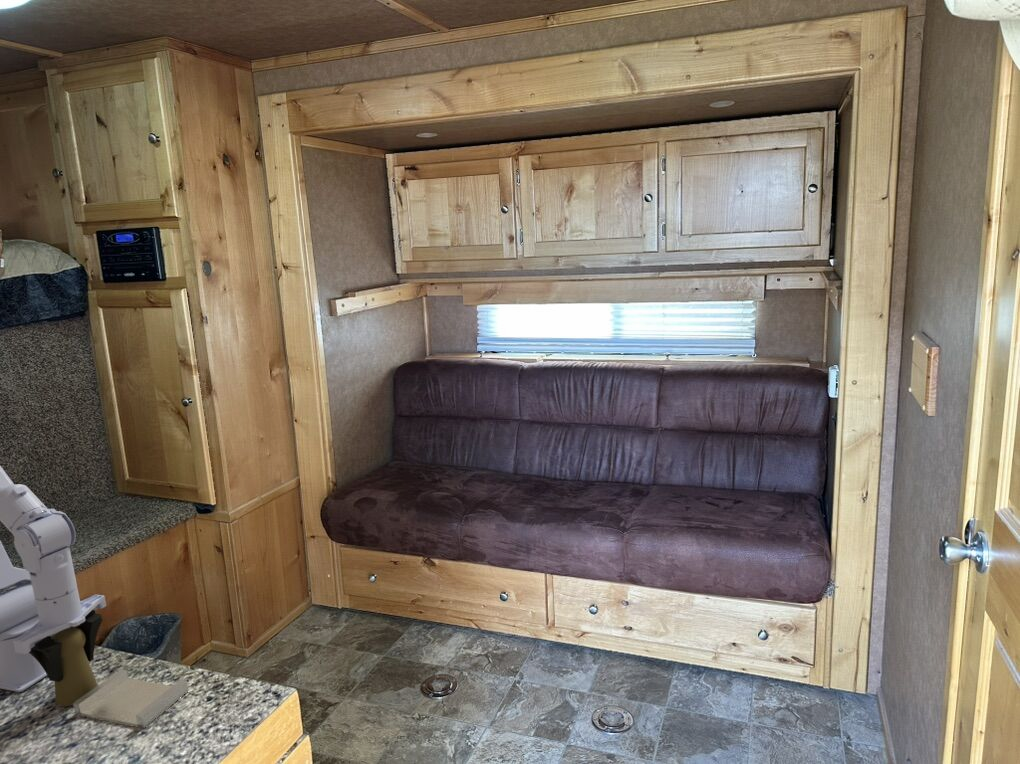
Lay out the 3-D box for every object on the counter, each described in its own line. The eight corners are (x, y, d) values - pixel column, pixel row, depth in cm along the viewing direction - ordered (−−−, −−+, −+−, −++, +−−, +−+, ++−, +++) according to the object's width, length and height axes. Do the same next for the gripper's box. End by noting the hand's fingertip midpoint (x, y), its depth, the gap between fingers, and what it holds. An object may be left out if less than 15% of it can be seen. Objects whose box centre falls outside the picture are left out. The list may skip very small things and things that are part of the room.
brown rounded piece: (107, 683, 119) (94, 622, 116) (80, 706, 113) (67, 642, 111) (74, 683, 119) (61, 622, 117) (46, 706, 114) (32, 642, 112)
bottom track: (75, 714, 111) (72, 703, 111) (122, 680, 119) (120, 669, 119) (144, 728, 107) (142, 716, 106) (188, 691, 115) (186, 680, 115)
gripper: (31, 617, 105) (49, 701, 107) (114, 572, 118) (128, 647, 121) (-4, 612, 107) (14, 694, 110) (81, 568, 120) (96, 642, 123)
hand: (72, 669), depth 115 cm, fingers closed on brown rounded piece, 5 cm apart
